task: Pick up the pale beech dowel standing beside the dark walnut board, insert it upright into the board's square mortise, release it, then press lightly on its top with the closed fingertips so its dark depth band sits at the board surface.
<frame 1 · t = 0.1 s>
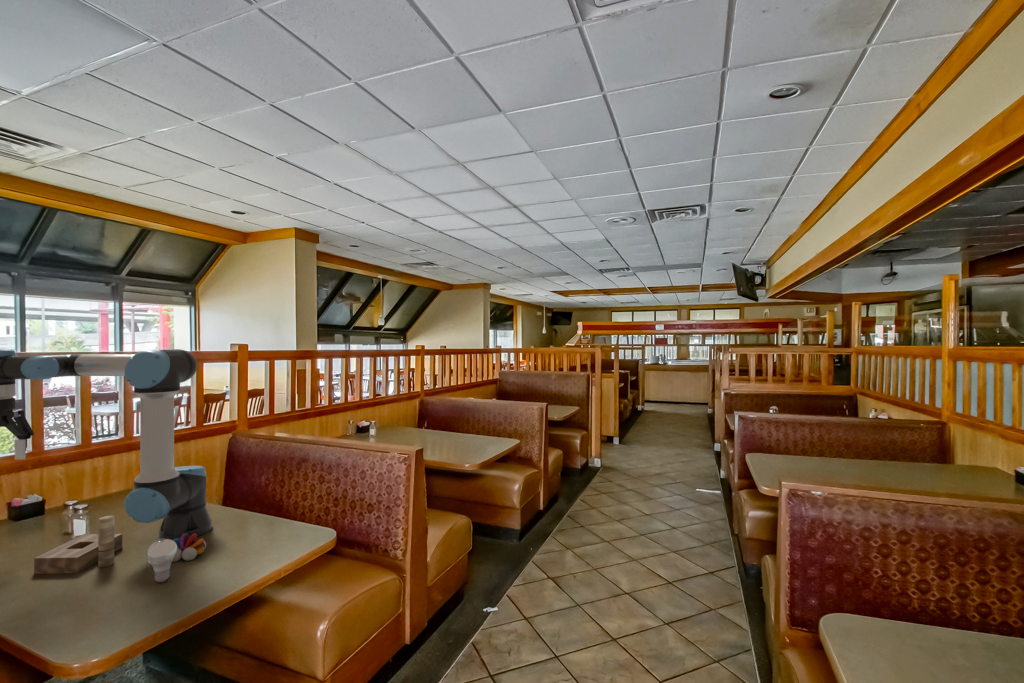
dowel: (106, 564, 136), on the table
light bulb: (162, 582, 126), on the table
board: (80, 559, 139), on the table
rainbow fan toy: (187, 557, 141), on the table
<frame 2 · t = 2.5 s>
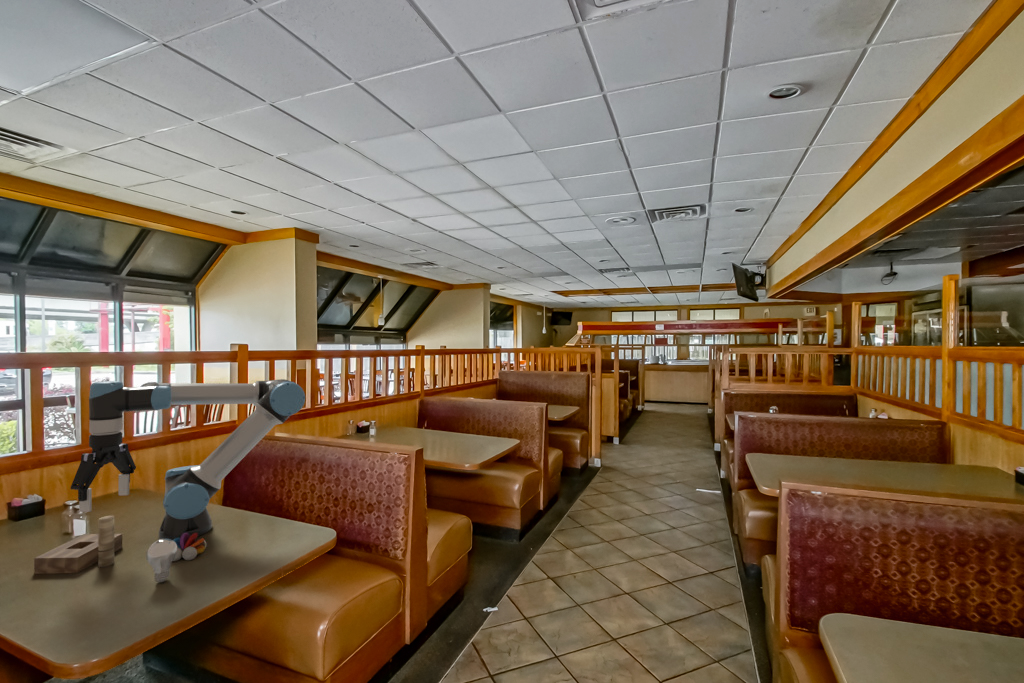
hand: (105, 502, 136), 19 cm above the table, fingers open, 13 cm apart
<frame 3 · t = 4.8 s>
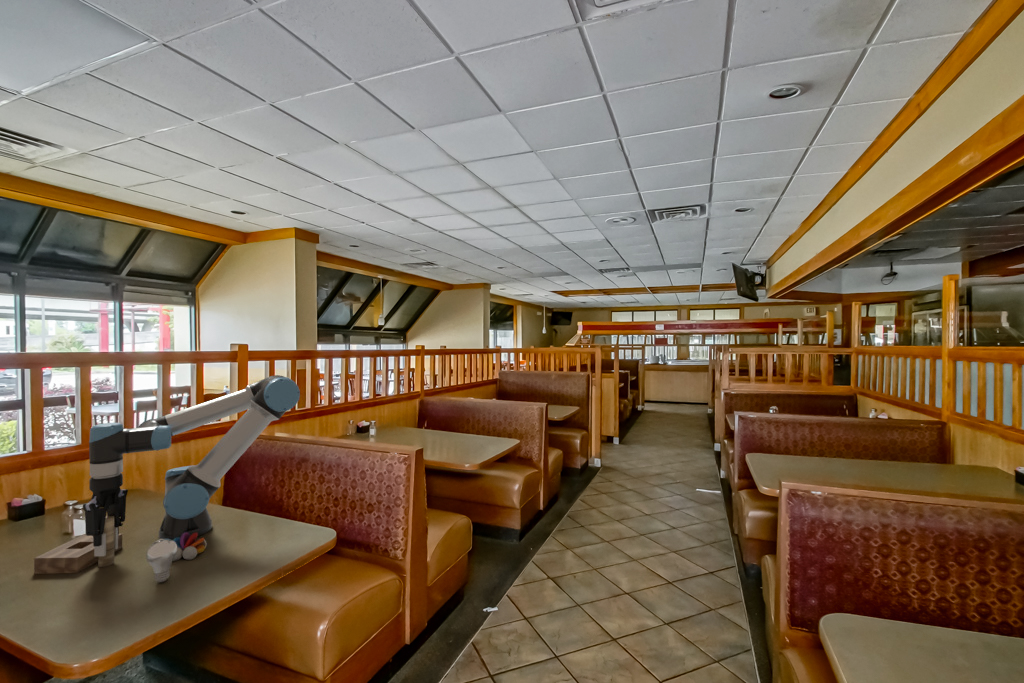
hand: (106, 552, 136), 4 cm above the table, fingers closed on dowel, 4 cm apart
dowel: (106, 564, 136), on the table, touching gripper
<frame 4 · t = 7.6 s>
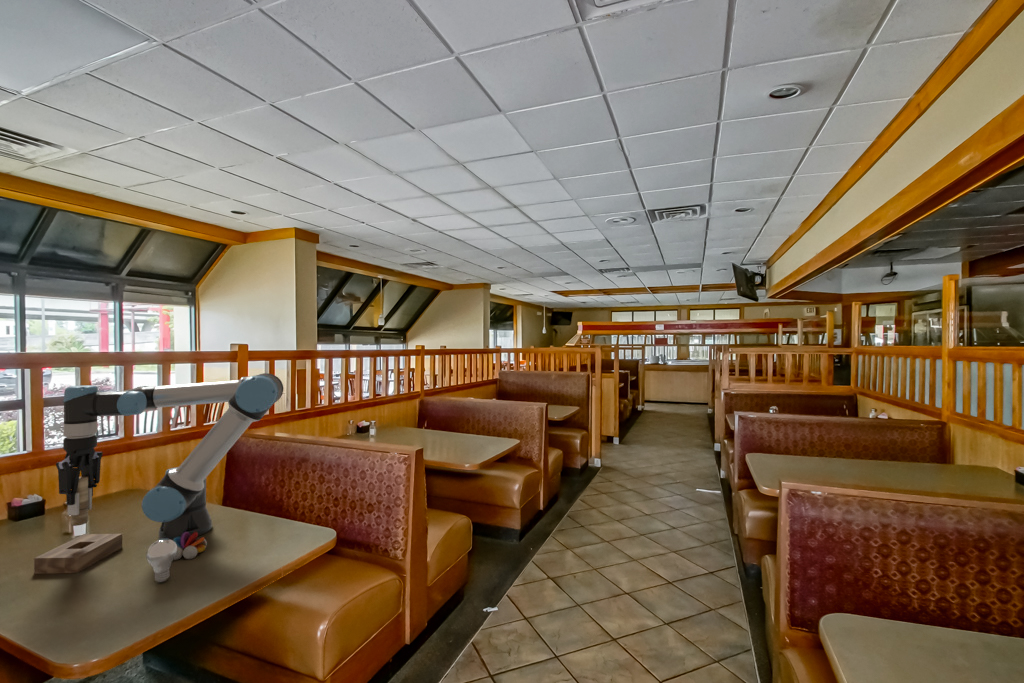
hand: (79, 511, 139), 15 cm above the table, fingers closed on dowel, 4 cm apart
dowel: (79, 523, 139), point 11 cm above the table, touching gripper
when the fingers open (5 cm above the table, at t = 10.2 s): dowel drops 1 cm, resting in board.
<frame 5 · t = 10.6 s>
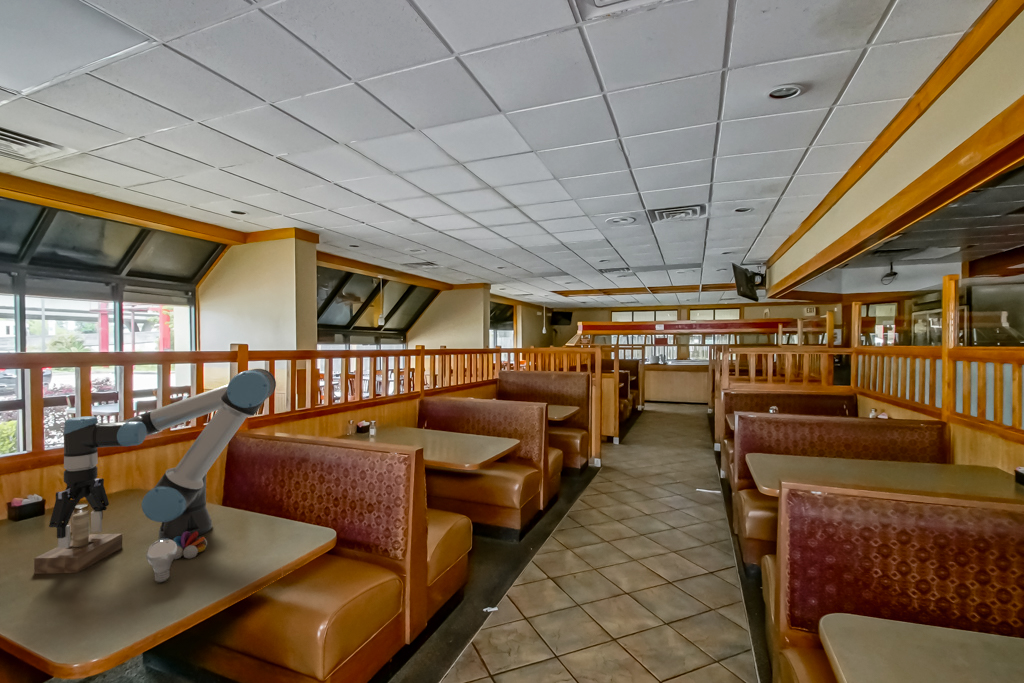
hand: (80, 539, 139), 6 cm above the table, fingers open, 10 cm apart
dowel: (80, 559, 139), resting in board
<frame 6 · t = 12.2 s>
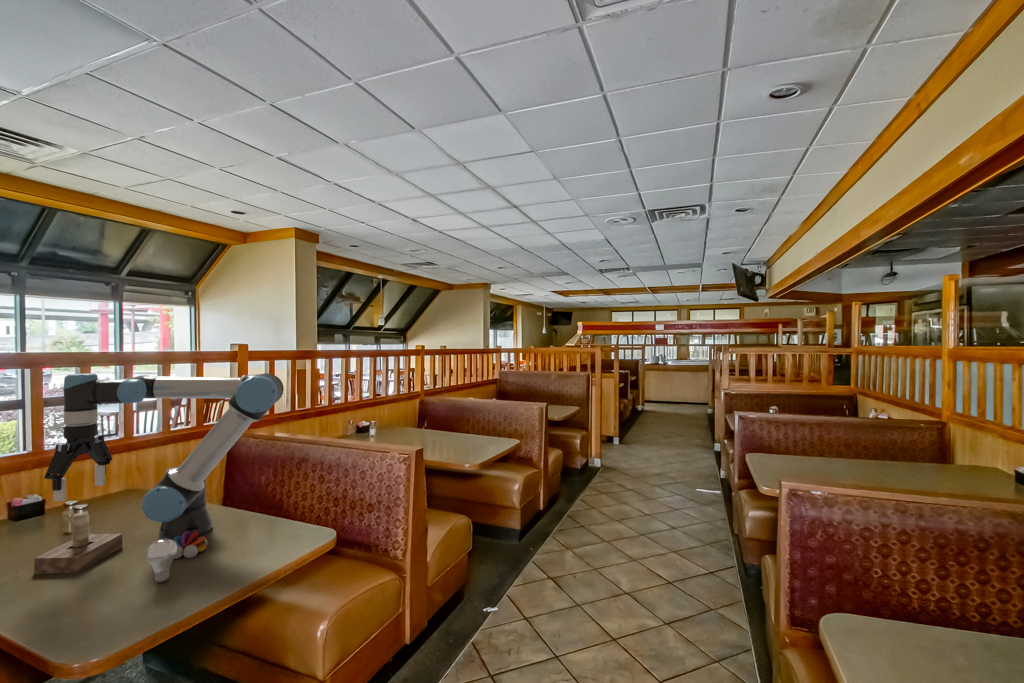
hand: (80, 492, 139), 21 cm above the table, fingers open, 13 cm apart
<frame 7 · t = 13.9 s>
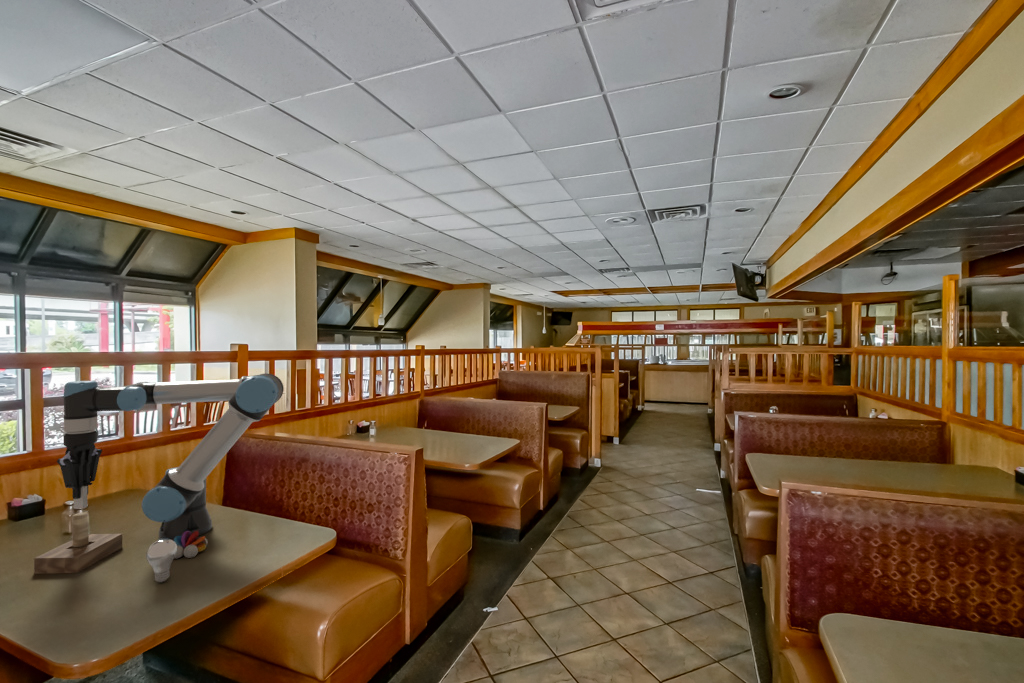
hand: (80, 507, 139), 16 cm above the table, fingers closed
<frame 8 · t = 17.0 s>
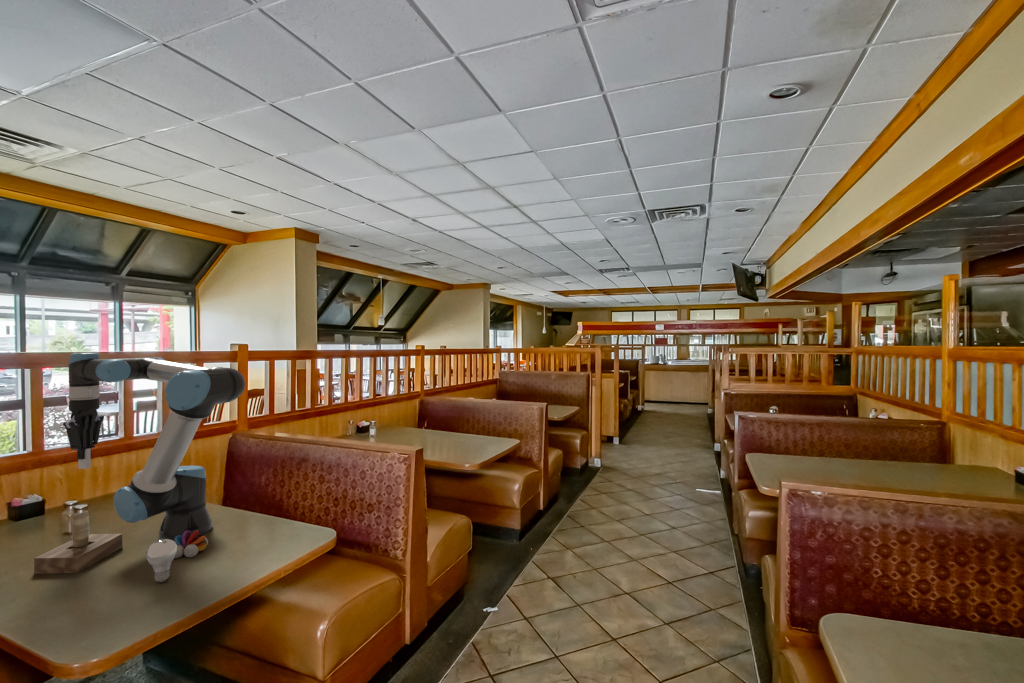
hand: (84, 468, 152), 24 cm above the table, fingers closed
at the end: dowel 0.0 cm off-centre on the board, point 0.0 cm above the board's base; dowel tilted 0°; the gripper is holding nothing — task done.
